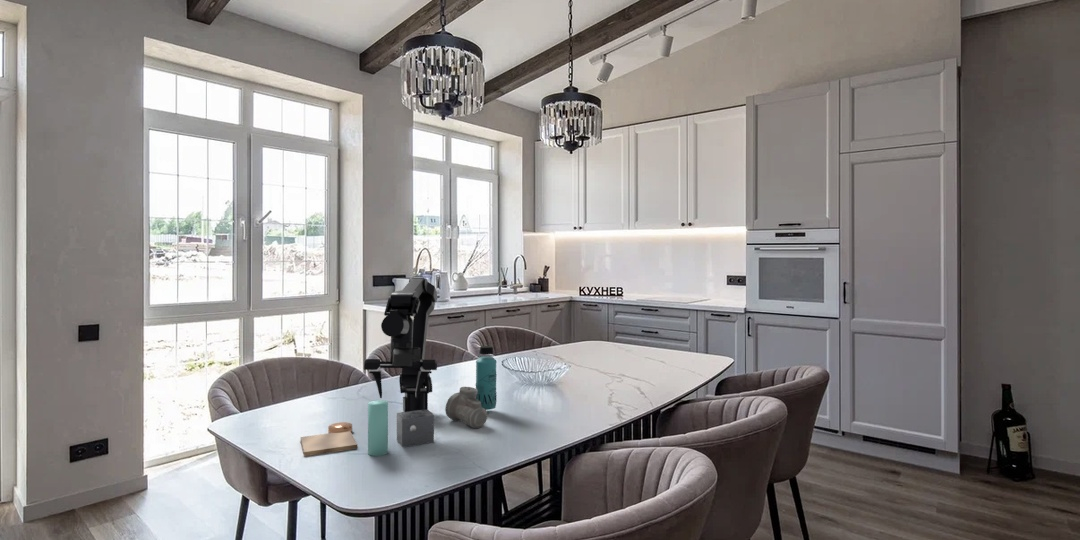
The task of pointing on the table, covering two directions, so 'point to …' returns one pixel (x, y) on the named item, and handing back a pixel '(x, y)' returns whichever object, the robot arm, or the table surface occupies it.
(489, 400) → the beverage bottle
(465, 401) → the pipe fitting
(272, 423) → the table surface
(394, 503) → the table surface
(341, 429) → the copper dome
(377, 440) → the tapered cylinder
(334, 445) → the board
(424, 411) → the box
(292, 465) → the table surface
